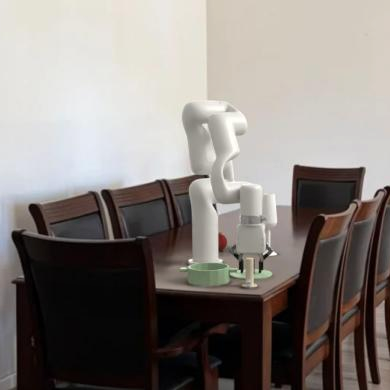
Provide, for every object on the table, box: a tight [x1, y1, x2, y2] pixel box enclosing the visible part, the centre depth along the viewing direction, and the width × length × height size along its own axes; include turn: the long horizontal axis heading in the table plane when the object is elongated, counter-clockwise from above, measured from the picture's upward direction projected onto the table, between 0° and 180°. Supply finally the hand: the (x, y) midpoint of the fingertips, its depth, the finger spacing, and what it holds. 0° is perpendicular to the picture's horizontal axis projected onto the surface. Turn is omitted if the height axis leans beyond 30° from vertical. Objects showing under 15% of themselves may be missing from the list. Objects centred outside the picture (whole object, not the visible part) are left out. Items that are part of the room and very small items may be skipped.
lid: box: [230, 258, 273, 280], centre depth 268 cm, size 14×14×6 cm
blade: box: [241, 257, 258, 289], centre depth 252 cm, size 8×5×10 cm, turn 0°
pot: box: [179, 262, 239, 287], centre depth 258 cm, size 13×19×6 cm
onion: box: [218, 231, 228, 252], centre depth 315 cm, size 6×6×8 cm
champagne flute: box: [262, 192, 278, 257], centre depth 309 cm, size 7×7×24 cm
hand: (251, 271), depth 269 cm, fingers open, 5 cm apart
